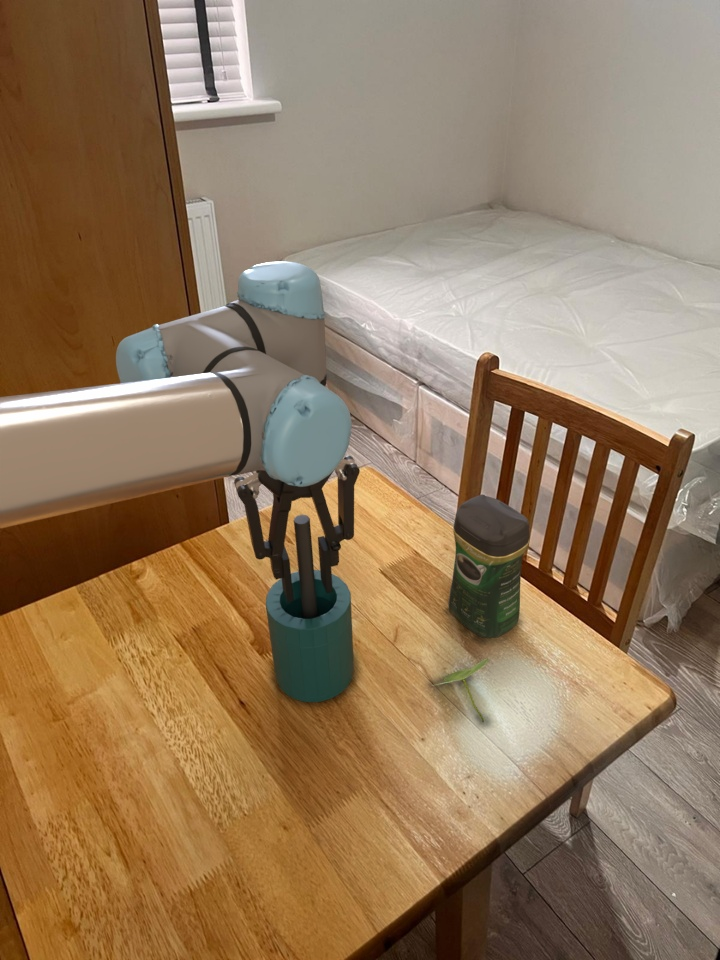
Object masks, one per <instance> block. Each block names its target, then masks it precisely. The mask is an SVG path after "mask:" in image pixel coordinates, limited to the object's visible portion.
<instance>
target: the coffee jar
mask: <svg viewBox="0 0 720 960" xmlns="http://www.w3.org/2000/svg"><path fill="white" fill-rule="evenodd" d="M454 517H455V518H454V522H453V527H452V532H453V539H454V543H455V544H454V545H455V555H454V563H453V571H452V572H453V573H452V579H451V585H450V590H449V598H448V610H449V612H450V613H451V614H452V616H453V618H455V619H456V620H457V621H458V622H459V623H460V624H461V625H463V626H464V627H465V628H467V630H469V631H470V632H472V633H473V634H475V635H476V636H478V637H481V638H483V639H495V638H499V637H502V636H503V635H505V634H508V632H510V631H512V630H513V629H514V628H515V627H516V626H517V624H518V623H519V620H520V619H519V618H520V610H521V609H520V608H521V579H522V564H523V563H522V562H523V558H524V557H523V556H524V554H525V553H526V551H527V549H528V547H529V544H530V521H529V519H528V517H526V516H525V515H524V514H522V513H521V512H519V511H517V510H516V509H515V508H513V507H511V506H510V505H508V504H506V503H505V502H503V501H502V500H500V499H498V498H495V497H492V496H488V495H485V494H483V493H481V494H479V495H476V496H474V497H472V498H469V499H468V500H466V501H464V502H463V503H461V504H460V505H459V507H458V509H457V510H456V513H455V516H454Z"/></svg>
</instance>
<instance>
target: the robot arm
mask: <svg viewBox="0 0 720 960" xmlns="http://www.w3.org/2000/svg"><path fill="white" fill-rule="evenodd" d="M236 294H237V298H238V299H237V300H234V301H232V302H231V301H230V302H228V303H227V304H225V305H223V306H221V307H216V308H213V309H210V310H207V311H203V312H199V313H196V314H192V315H189V316H185V317H182V318H178V319H175V320H172V321H169V322H165V323H161V324H158V323H155V324H153V325H152V327H149V328H147V329H144V330H142V331H139V332H136V333H133V334H130V335H129V336H126V337H124V338H123V339H122V340H121V341H120V342H119V344H118V346H117V347H116V352H115V365H116V366H115V367H116V371H117V375H118V379H119V381H120V383H113V384H103V385H94V386H88V387H87V386H86V387H78V388H69V389H68V388H67V389H60V390H53V391H52V390H51V391H43V392H34V393H26V394H18V395H17V394H16V395H10V396H0V529H4V528H5V529H6V528H9V527H14V526H17V525H23V524H27V523H30V522H31V523H32V522H36V521H40V520H44V519H49V518H53V517H58V516H61V515H66V514H71V513H74V512H79V511H85V510H89V509H92V508H93V509H94V508H97V507H102V506H106V505H110V504H114V503H120V502H124V501H128V500H133V499H136V498H141V497H145V496H151V495H155V494H158V493H162V492H163V493H164V492H168V491H171V490H172V491H173V490H176V489H181V488H185V487H188V486H193V485H198V484H203V483H206V482H210V481H215V480H220V479H224V478H228V477H232V476H237V477H235V479H234V481H233V484H234V486H235V490H236V493H237V497H238V498H239V500H240V501H241V502H242V504H243V505H244V506H243V507H244V511H245V517H246V521H247V527H248V532H249V538H250V543H251V547H252V550H253V553H254V557H255V558H256V559H257V560H263V559H265V558H268V559H269V562H270V569H271V573H272V576H273V578H274V579H275V580H280V579H281V578H282V586H283V590H284V593H285V596H286V599H287V602H292V601H294V598H293V588H292V579H291V573H292V571H291V560H290V556H289V554H288V551H287V549H286V546H285V541H286V535H287V528H288V521H289V514H290V511H291V510H292V504H293V502H294V501H297V500H300V499H310V498H311V500H312V503H313V506H314V509H315V512H316V515H317V518H318V520H319V523H320V526H321V529H322V532H323V535H321V536H317V544H318V545H317V546H318V559H319V570H320V574H321V580H322V583H323V585H324V588H325V590H326V593H331V592H333V588H332V574H333V571H332V567H336V566H338V565H339V563H340V552H339V551H340V550H341V549H342V545H341V543H342V541H344V540H345V541H350V540H353V538H354V536H355V484H356V482H357V480H358V478H359V475H360V471H361V470H360V468H359V466H358V464H357V463H356V460H355V459H354V457H353V456H352V455H346V453H347V452H348V449H349V446H350V441H351V440H350V439H351V435H352V428H353V425H352V424H353V423H352V416H351V413H350V410H349V407H348V406H347V404H346V402H345V401H344V399H342V397H340V396H339V395H338V394H337V393H335V392H333V390H331V389H329V388H328V377H327V376H328V375H327V358H326V357H327V354H326V326H325V325H326V324H325V322H326V321H325V318H326V313H325V309H324V299H323V298H324V297H323V291H322V286H321V280H320V277H319V275H318V274H317V272H315V270H313V269H312V268H311V267H309V266H307V265H304V264H302V263H299V262H293V261H269V262H263V263H258V264H255V265H253V266H250V267H249V268H248V269H246V270H244V271H243V272H242V273H240V275H239V277H238V280H237V292H236ZM345 455H346V456H345ZM248 473H252V475H249V476H247V477H246V478H244V476H240V475H246V474H248ZM333 473H335V476H336V477H337V525H335V524H334V522H333V519H332V516H331V513H330V509H329V506H328V504H327V500H326V496H325V493H324V491H323V488H324V487H325V485H326V483H327V482H328V480H329V479H330V478H331V476H332V475H333ZM261 485H262V486H263V487H264V488H266V489H268V490H269V492H271V493H272V497H273V498H272V499H273V500H272V508H271V515H270V521H269V522H270V523H269V530H268V531H269V532H268V538H267V539H266V540H265V539H264V533H263V528H262V523H261V517H260V516H261V515H260V510H259V506H258V503H257V500H256V499H257V498H258V497H259V494H260V489H259V488H260V486H261ZM334 525H335V526H334Z"/></svg>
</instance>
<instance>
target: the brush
mask: <svg viewBox="0 0 720 960" xmlns="http://www.w3.org/2000/svg"><path fill="white" fill-rule="evenodd" d="M311 527H312V526H311V518H310V517H309V515H306V514H298V515H296V516H294V518H293V528H294V538H295V549H296V558H297V566H298V567H297V568H298V570H297V571H299V580H300V591H301V601H302V611H303V619H312V618H317V617H318V614H317V602H316V589H315V577H314V570H315V567H314V566H315V565H314V555H313V554H314V553H313V541H312V532H311V531H312V529H311Z"/></svg>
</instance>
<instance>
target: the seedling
mask: <svg viewBox="0 0 720 960" xmlns="http://www.w3.org/2000/svg"><path fill="white" fill-rule="evenodd" d="M488 662H489V658H485V659H482V660H481V661H479V662H478V663H476V664H475V665H474V666H472V667H471V668H465V669H460V670H456V671H454V672H451V673H449V674H447V675H446V676H445V677H444V679H443V680H442V681H443V682H442V683H440V685H442V684H447V683H452V682H457V681H458V682H459V681H463V684H464V686H465V688H466V691H467V693H468V695H469V698H470V701H471V703H472V706H473V708H474V709H475V711H476V712H477V714H478V715H479V717H480V719H481V721H482V722H483V723H484V722H485V720H484V717H483V715H482V713H481V712H480V711H479V709H478V708H477V706H476V704H475V702H474V699H473V697H472V694H471V691H470V689H469V687H468V684H467V682H466V680H465V679H466V678H469V677H470V676H473V675H474V674H475V673H477V672H479V670H481V669H482V668H484V666H486V665H487V664H488ZM437 685H439V683H436V684H435V686H437ZM431 686H432V687H433V686H434V684H433V685H431Z"/></svg>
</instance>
